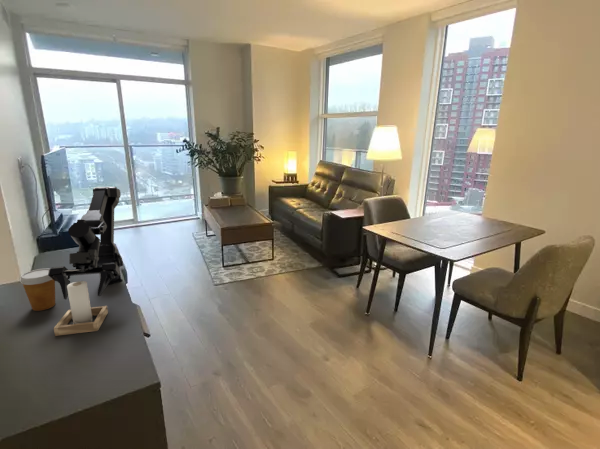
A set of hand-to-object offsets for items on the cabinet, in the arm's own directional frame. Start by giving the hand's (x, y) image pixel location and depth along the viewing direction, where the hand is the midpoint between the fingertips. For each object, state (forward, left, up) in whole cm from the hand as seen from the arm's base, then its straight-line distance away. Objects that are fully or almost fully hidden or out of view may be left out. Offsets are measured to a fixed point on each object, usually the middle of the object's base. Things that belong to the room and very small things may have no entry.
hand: (82, 297), depth 103 cm
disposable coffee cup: (+8, -20, -8) cm, 22 cm away
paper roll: (+1, +2, -8) cm, 8 cm away
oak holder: (+1, +2, -8) cm, 8 cm away
